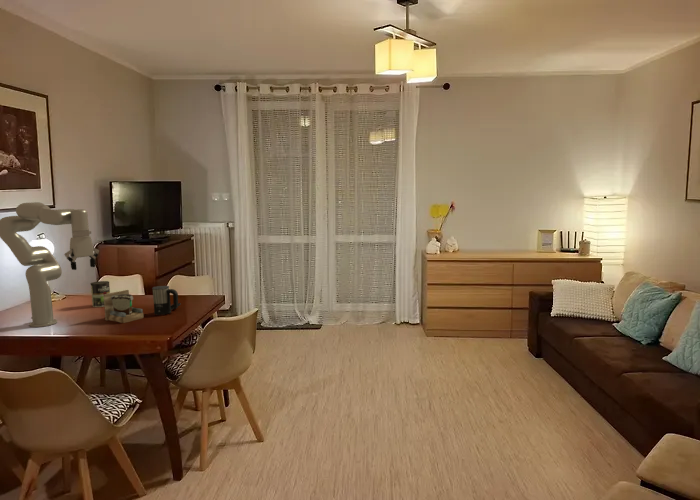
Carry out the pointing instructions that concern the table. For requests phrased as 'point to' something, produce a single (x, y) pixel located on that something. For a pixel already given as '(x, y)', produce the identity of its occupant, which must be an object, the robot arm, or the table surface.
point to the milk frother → (164, 300)
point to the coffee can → (99, 292)
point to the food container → (122, 303)
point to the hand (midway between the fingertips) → (83, 268)
